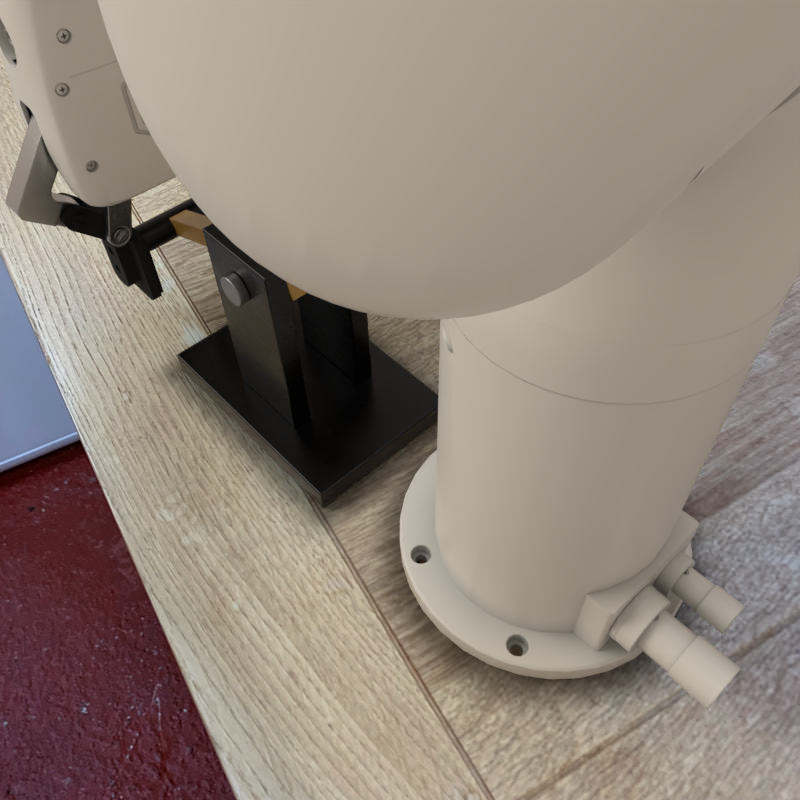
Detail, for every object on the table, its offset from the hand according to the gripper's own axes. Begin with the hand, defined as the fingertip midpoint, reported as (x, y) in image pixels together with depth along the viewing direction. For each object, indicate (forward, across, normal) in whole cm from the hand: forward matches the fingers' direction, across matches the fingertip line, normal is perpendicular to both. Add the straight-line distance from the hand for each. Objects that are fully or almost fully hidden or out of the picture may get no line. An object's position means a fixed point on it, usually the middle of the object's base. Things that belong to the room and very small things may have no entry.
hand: (188, 258), depth 44 cm
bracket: (+3, 0, -10) cm, 11 cm away
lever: (-3, 0, -6) cm, 7 cm away
